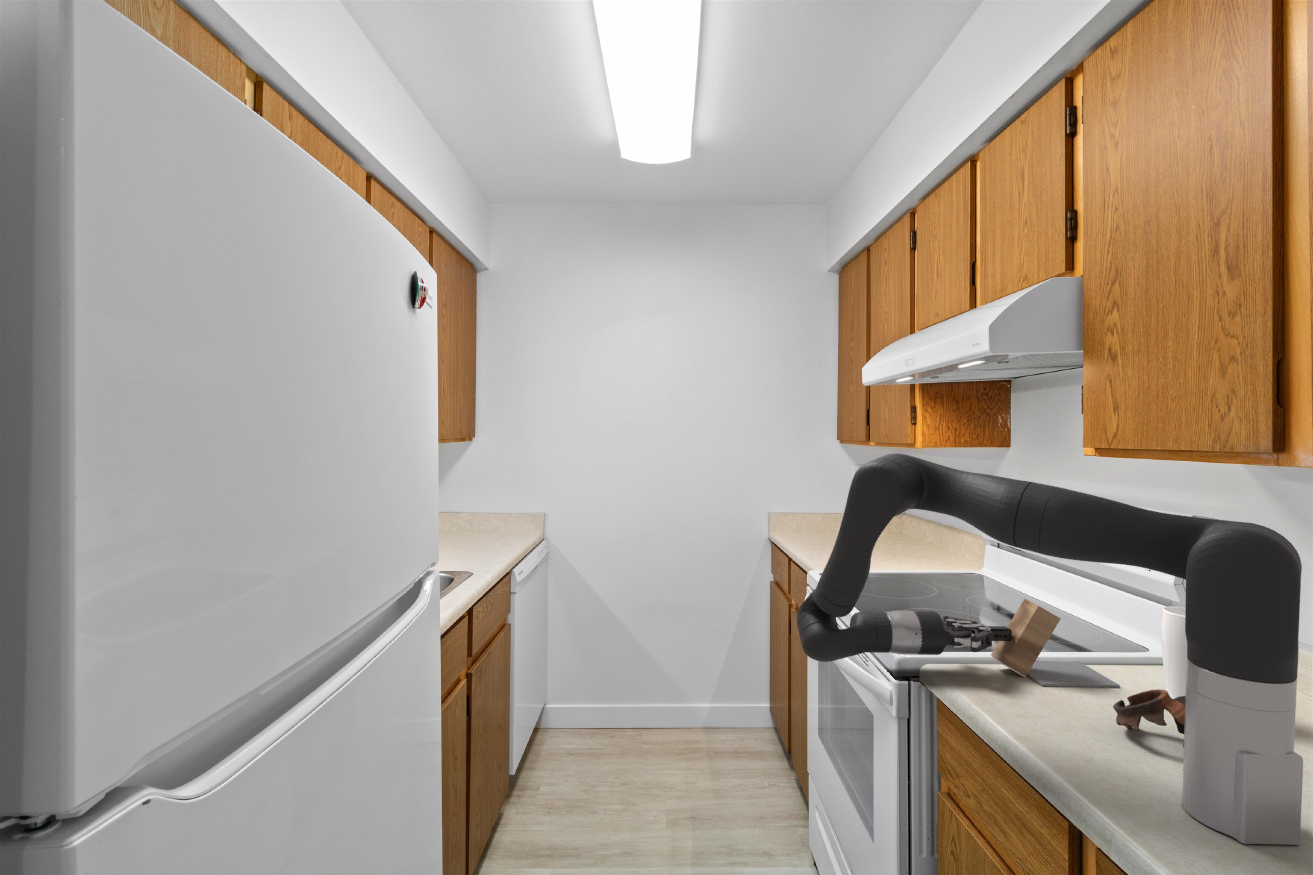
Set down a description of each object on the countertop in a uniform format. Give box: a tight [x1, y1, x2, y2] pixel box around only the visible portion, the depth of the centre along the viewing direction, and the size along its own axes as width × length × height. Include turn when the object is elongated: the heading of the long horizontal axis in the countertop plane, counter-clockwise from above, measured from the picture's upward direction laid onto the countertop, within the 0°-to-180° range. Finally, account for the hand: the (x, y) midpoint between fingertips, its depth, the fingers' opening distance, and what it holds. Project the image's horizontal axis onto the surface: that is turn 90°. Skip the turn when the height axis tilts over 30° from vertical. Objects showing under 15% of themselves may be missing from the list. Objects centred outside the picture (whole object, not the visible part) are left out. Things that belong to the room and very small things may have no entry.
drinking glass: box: [1160, 605, 1187, 699], centre depth 104 cm, size 7×7×15 cm
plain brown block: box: [990, 598, 1062, 678], centre depth 117 cm, size 4×4×12 cm
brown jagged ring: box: [1112, 688, 1186, 749], centre depth 92 cm, size 12×10×8 cm
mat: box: [1026, 660, 1121, 689], centre depth 117 cm, size 12×13×1 cm
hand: (1009, 633), depth 117 cm, fingers closed
